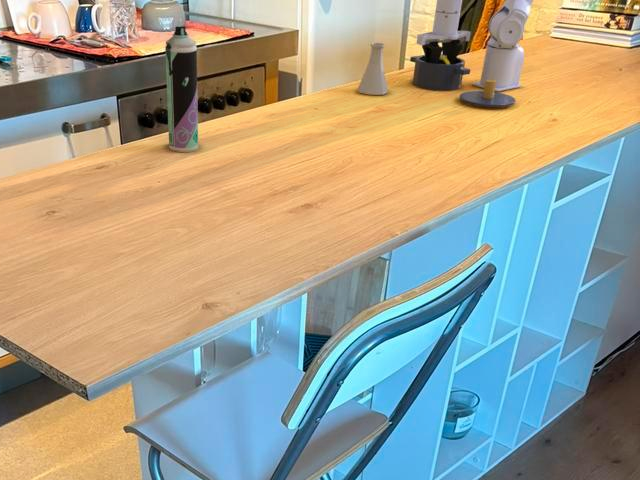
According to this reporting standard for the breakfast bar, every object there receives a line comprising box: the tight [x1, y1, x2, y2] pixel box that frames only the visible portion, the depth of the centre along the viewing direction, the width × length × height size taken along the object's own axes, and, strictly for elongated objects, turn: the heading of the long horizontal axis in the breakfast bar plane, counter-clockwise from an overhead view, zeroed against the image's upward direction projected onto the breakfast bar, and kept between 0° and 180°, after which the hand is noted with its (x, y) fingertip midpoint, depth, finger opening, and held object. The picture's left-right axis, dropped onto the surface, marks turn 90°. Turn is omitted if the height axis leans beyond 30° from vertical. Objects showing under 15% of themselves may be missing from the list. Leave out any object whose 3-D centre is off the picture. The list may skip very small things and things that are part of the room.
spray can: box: [164, 25, 199, 153], centre depth 146 cm, size 6×6×20 cm
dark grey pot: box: [409, 54, 471, 92], centre depth 196 cm, size 12×17×6 cm
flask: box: [357, 42, 389, 96], centre depth 187 cm, size 7×7×10 cm
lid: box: [459, 79, 517, 109], centre depth 184 cm, size 13×13×5 cm
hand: (437, 76), depth 197 cm, fingers open, 4 cm apart
